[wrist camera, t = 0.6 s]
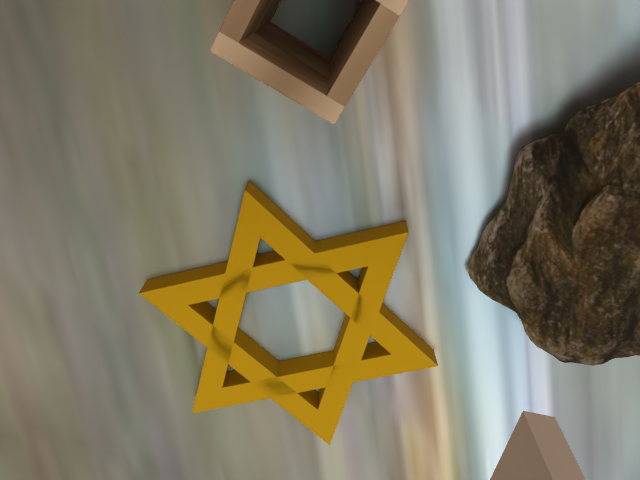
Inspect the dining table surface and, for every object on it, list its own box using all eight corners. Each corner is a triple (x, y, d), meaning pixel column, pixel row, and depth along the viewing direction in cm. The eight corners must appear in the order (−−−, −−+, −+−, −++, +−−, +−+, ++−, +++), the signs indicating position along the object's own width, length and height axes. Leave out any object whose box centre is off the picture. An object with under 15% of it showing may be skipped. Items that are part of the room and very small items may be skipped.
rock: (662, 44, 35) (424, 119, 35) (800, 16, 26) (473, 119, 26) (708, 313, 39) (493, 380, 39) (843, 376, 29) (557, 464, 30)
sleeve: (249, 27, 32) (209, 50, 22) (298, -70, 30) (279, -93, 20) (334, 78, 33) (334, 124, 23) (387, -12, 31) (412, -6, 21)
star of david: (119, 210, 37) (106, 224, 35) (388, 143, 35) (392, 154, 32) (220, 443, 45) (215, 465, 43) (444, 401, 43) (450, 423, 40)
